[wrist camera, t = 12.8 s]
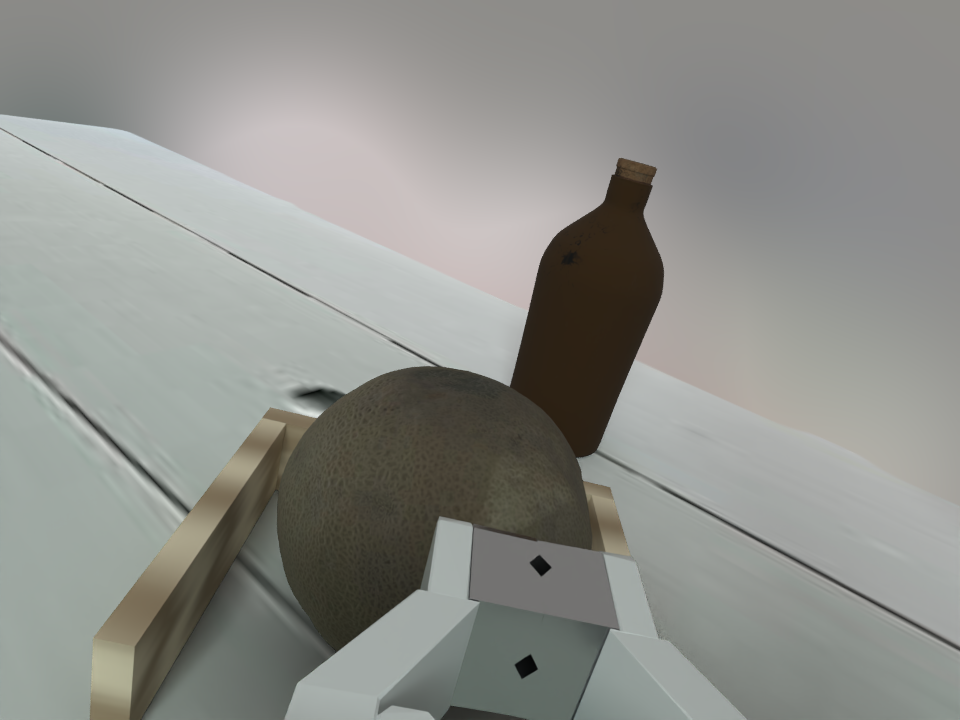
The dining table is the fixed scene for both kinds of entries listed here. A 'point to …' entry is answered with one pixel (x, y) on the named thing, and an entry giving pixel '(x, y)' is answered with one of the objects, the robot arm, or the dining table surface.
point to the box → (222, 568)
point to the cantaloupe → (416, 488)
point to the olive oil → (591, 311)
